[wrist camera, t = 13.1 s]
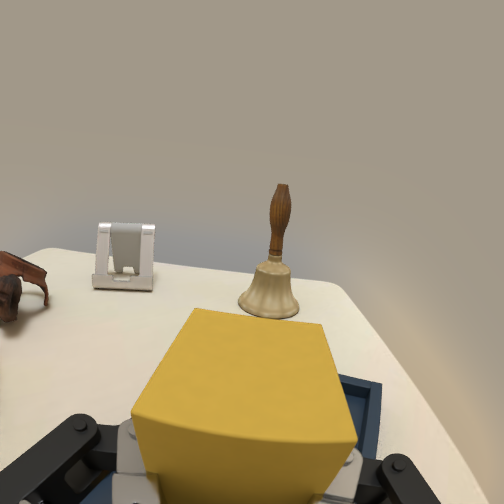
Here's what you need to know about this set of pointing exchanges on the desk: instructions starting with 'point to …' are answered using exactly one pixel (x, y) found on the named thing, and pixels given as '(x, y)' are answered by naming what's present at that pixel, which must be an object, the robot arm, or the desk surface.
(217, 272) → the desk surface
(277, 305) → the hand bell
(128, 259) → the tablet stand
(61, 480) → the robot arm
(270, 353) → the sponge
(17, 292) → the brown curved piece
